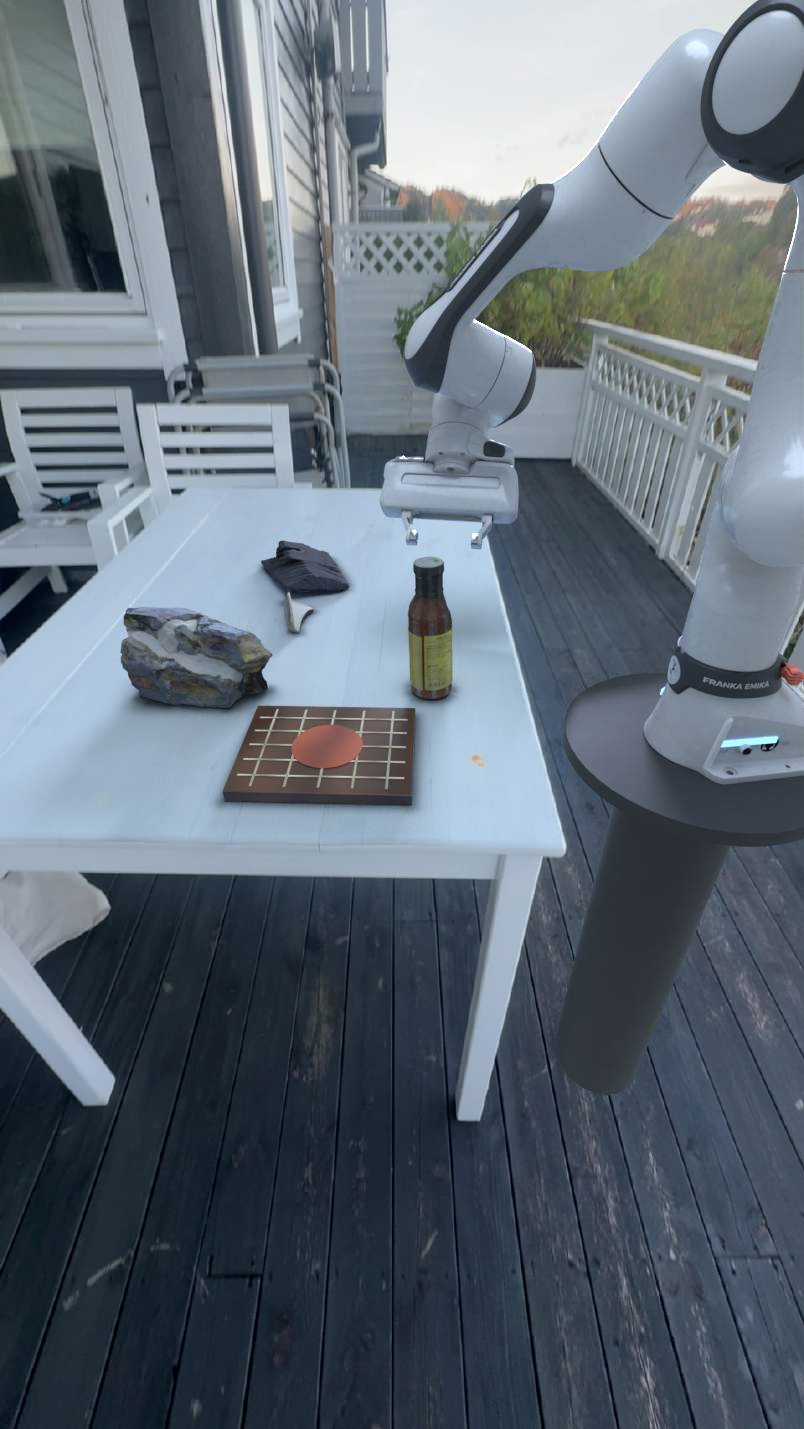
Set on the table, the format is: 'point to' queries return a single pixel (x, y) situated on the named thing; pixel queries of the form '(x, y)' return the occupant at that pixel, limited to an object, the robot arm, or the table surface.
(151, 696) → the fossil rock
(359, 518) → the table surface
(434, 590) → the sauce bottle
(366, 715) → the grid board
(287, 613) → the ceramic fragment
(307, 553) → the dark slate chunk
